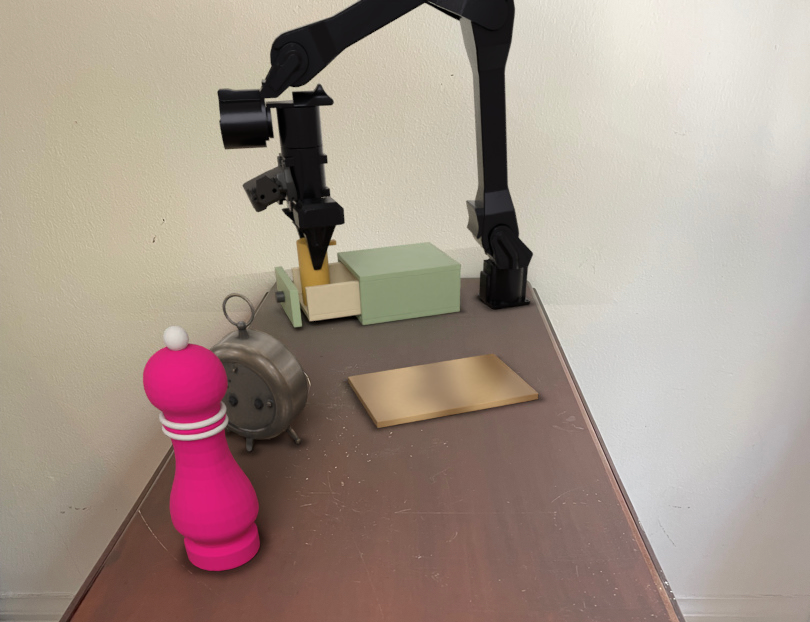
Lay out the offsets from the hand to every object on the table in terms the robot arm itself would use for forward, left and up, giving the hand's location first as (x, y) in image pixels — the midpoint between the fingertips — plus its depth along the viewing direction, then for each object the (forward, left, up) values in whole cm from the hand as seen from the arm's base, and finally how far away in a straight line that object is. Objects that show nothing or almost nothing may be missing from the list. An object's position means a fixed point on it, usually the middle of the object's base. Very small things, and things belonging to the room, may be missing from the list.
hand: (313, 265), depth 103 cm
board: (-8, +32, -8) cm, 34 cm away
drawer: (-2, 0, -7) cm, 7 cm away
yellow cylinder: (0, 0, -6) cm, 6 cm away
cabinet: (-13, 0, -8) cm, 15 cm away
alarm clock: (+15, +37, -8) cm, 41 cm away
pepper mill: (+21, +55, -8) cm, 59 cm away
